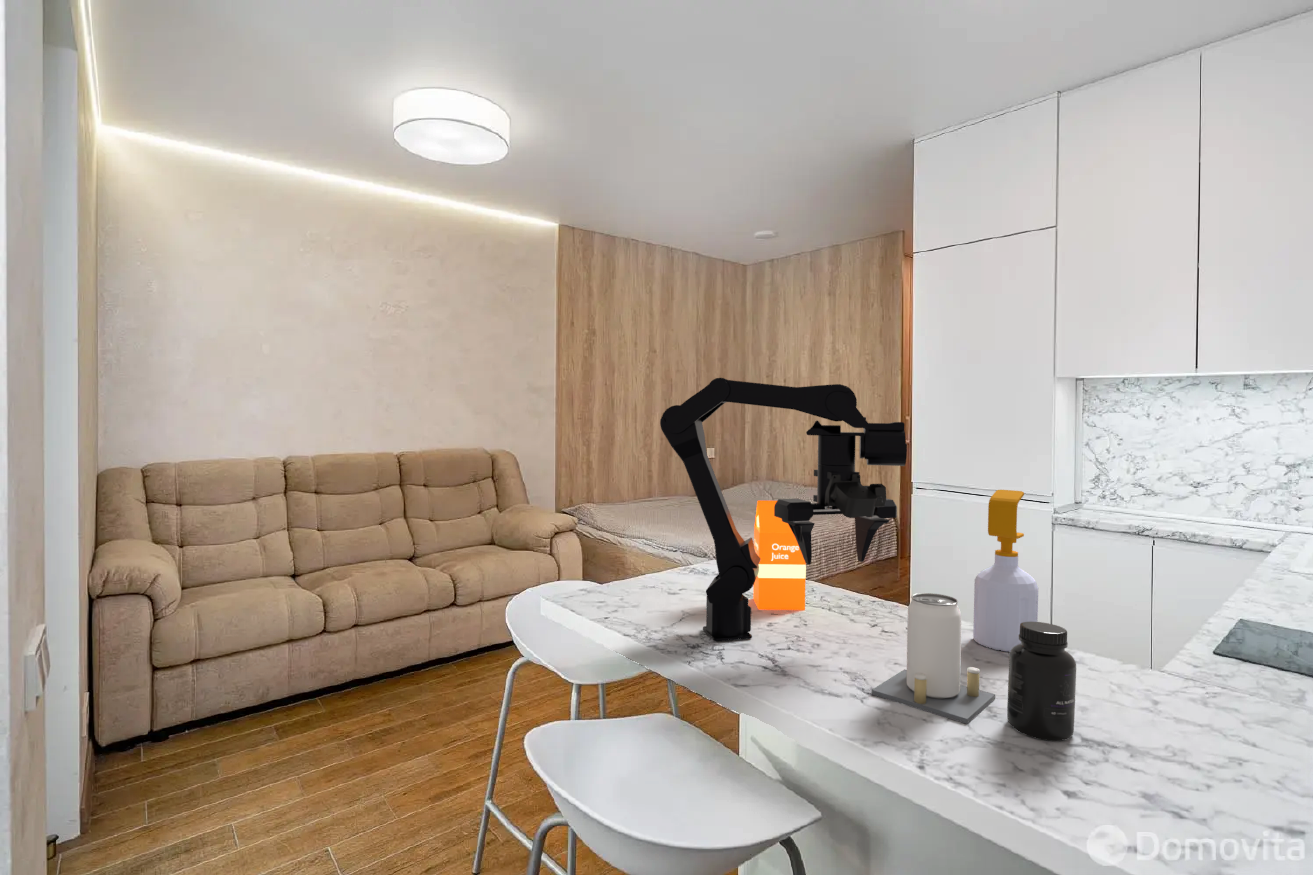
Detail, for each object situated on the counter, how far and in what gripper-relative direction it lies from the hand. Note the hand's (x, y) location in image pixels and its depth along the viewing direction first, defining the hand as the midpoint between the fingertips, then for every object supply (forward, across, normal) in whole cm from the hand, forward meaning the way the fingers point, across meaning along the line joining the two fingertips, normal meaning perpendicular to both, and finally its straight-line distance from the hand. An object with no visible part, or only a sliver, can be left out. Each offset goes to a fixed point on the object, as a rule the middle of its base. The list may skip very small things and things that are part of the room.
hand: (834, 562), depth 107 cm
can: (+13, +3, -21) cm, 24 cm away
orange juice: (+13, +1, +23) cm, 27 cm away
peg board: (+13, +3, -21) cm, 25 cm away
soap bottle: (+13, +27, -6) cm, 31 cm away
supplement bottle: (+13, +9, -32) cm, 36 cm away
